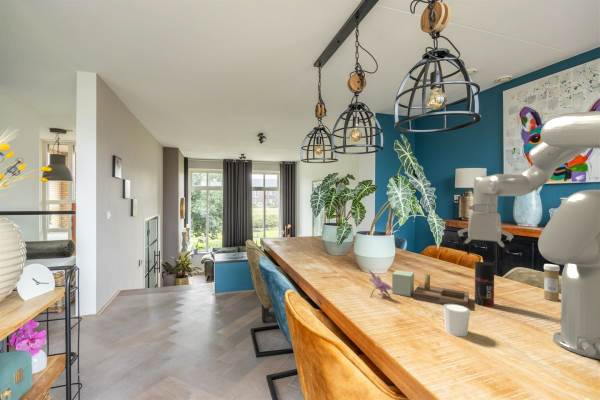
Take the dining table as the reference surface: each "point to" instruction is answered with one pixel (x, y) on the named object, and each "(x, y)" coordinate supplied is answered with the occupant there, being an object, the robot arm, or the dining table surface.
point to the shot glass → (456, 319)
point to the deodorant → (484, 284)
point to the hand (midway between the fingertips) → (483, 255)
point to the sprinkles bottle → (551, 282)
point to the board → (440, 294)
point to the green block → (403, 283)
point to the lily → (379, 284)
